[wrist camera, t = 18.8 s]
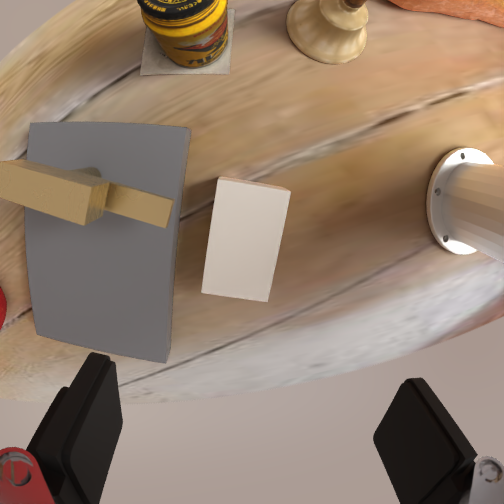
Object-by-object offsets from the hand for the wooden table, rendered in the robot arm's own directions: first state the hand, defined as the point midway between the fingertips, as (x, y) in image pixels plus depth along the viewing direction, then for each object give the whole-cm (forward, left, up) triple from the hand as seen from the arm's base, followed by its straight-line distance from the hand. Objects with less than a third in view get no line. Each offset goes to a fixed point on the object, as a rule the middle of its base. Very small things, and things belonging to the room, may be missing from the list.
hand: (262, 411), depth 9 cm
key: (+12, -4, -19) cm, 23 cm away
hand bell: (-5, -22, -23) cm, 32 cm away
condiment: (+8, -18, -23) cm, 30 cm away
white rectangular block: (0, 0, -23) cm, 23 cm away
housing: (+14, +3, -22) cm, 26 cm away
